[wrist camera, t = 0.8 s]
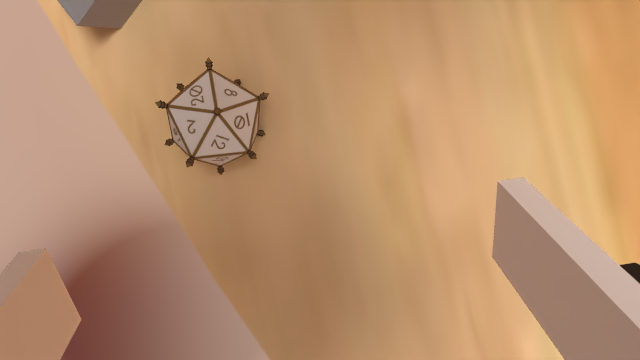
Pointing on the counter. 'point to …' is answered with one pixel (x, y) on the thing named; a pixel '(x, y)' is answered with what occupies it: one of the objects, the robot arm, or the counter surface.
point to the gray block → (100, 12)
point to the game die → (214, 119)
